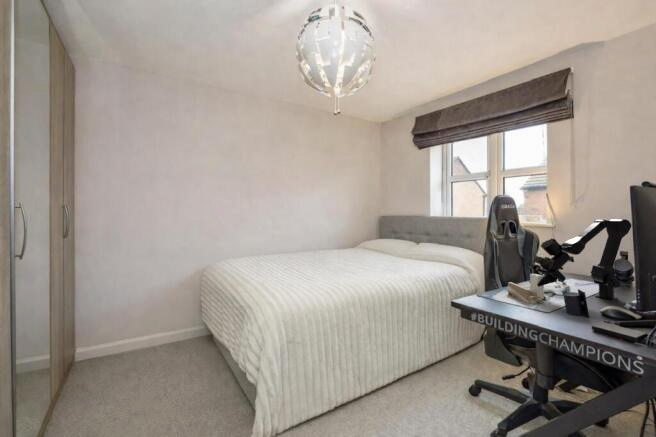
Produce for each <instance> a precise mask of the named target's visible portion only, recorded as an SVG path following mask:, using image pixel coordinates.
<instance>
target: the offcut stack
mask: <svg viewBox="0 0 656 437" xmlns="http://www.w3.org/2000/svg"><path fill="white" fill-rule="evenodd" d="M523 287H524V286H523ZM524 288H526V289H529V290H530V288H527V287H524ZM531 296H536V292H534V291H532V290H531Z"/></svg>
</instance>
